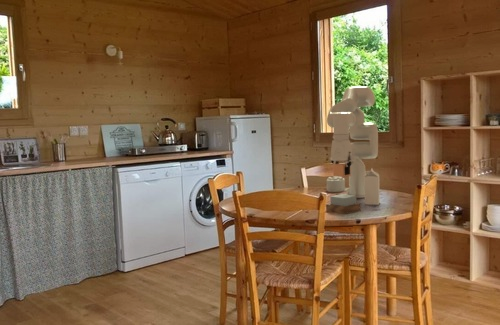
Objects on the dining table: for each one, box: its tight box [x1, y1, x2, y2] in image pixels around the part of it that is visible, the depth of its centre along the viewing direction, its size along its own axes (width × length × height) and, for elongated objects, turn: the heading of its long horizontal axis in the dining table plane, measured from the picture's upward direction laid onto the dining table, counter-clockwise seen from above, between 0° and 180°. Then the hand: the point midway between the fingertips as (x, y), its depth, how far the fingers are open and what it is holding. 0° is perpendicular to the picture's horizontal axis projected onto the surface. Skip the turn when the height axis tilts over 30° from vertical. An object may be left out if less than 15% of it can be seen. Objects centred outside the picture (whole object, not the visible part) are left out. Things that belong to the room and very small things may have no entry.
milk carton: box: [364, 167, 381, 206], centre depth 255 cm, size 7×7×19 cm
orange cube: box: [332, 162, 351, 178], centre depth 239 cm, size 6×6×6 cm
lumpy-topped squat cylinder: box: [326, 176, 346, 193], centre depth 303 cm, size 10×13×9 cm
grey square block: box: [330, 193, 357, 206], centre depth 240 cm, size 9×9×4 cm
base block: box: [325, 202, 362, 215], centre depth 241 cm, size 12×12×4 cm
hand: (342, 173), depth 239 cm, fingers closed on orange cube, 6 cm apart
